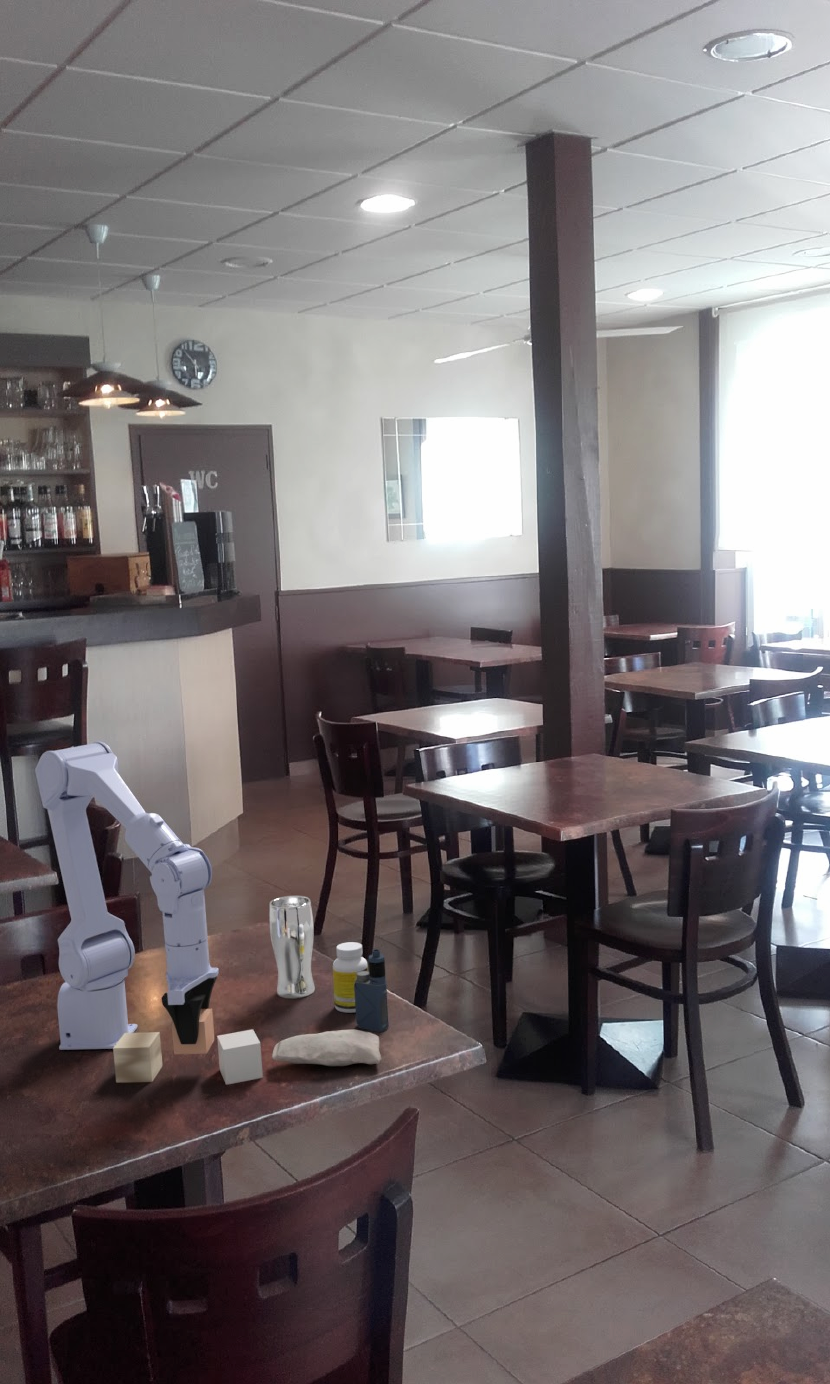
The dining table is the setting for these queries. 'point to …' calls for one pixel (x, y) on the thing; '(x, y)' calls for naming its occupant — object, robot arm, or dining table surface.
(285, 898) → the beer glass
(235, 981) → the dining table surface
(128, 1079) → the birch cube
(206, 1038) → the terracotta cube
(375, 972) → the vaping device
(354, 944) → the supplement bottle
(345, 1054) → the decorative stone
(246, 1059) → the white cube
